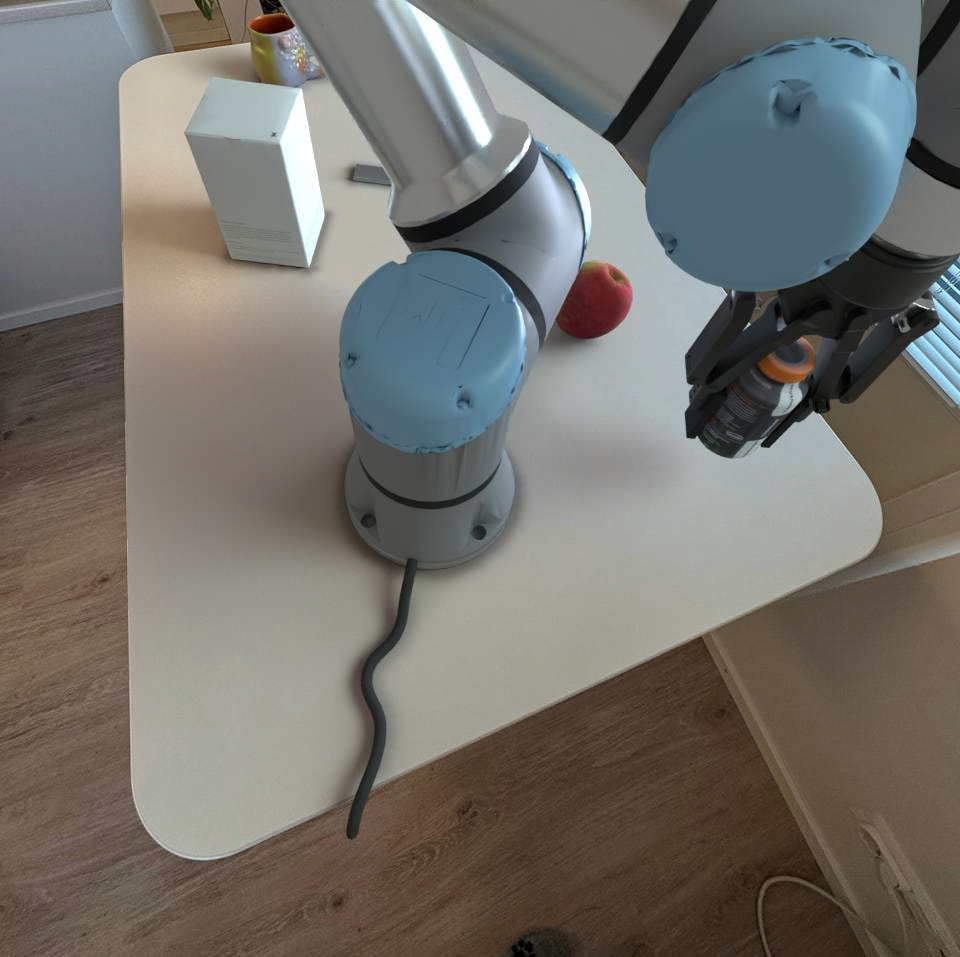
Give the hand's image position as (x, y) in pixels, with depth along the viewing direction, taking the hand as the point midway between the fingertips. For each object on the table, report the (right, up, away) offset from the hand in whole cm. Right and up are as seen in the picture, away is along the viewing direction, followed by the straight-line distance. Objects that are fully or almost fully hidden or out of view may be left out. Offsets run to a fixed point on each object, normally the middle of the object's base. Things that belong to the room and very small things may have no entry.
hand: (726, 429), depth 56 cm
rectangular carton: (-45, +23, +16) cm, 53 cm away
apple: (-11, +12, +13) cm, 21 cm away
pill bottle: (0, 0, 0) cm, 0 cm away
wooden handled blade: (-27, +32, +22) cm, 47 cm away
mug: (-46, +50, +30) cm, 74 cm away
